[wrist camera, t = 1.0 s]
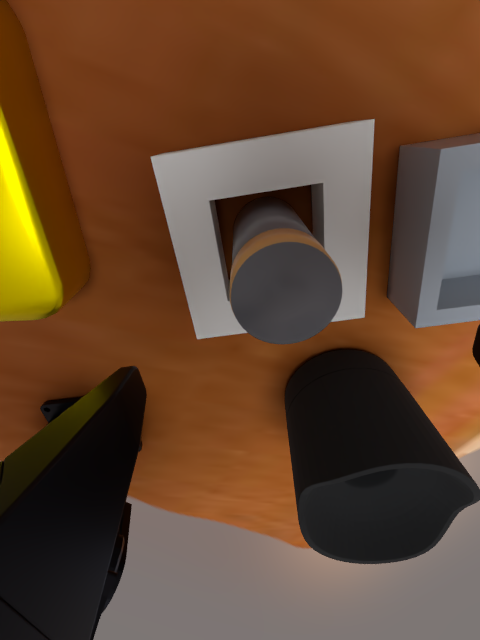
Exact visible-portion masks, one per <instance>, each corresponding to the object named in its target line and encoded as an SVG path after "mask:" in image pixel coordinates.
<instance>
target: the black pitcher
mask: <svg viewBox="0 0 480 640" xmlns="http://www.w3.org/2000/svg"><path fill="white" fill-rule="evenodd" d="M285 409H286V419H287V429H288V438H289V446H290V454H291V462H292V471H293V479H294V487H295V495H296V504H297V512H298V520H299V525H300V529H301V532H302V535H303V537H304V539H305V541H306V542H307V543H308V545H309V546H310V547H311V548H313V549H314V550H315V551H317V552H318V553H320V554H322V555H324V556H327V557H329V558H332V559H335V560H339V561H344V562H349V563H359V564H379V563H390V562H398V561H403V560H408V559H411V558H414V557H417V556H419V555H421V554H424V553H426V552H427V551H429V550H430V549H431V548H433V547H434V546H435V545H436V544H437V543H438V542H439V541H440V539H441V538H442V537H443V535H444V534H445V532H446V531H447V529H448V528H449V526H450V524H451V523H452V521H453V520H454V518H455V517H456V516H457V514H458V513H459V512H460V511H462V510H463V509H464V508H466V507H468V506H470V505H472V504H474V503H476V502H478V501H479V500H480V489H479V487H478V486H477V484H476V483H475V481H474V480H473V479H472V477H471V476H470V475H469V473H468V472H467V470H466V469H465V468H464V466H463V465H462V463H461V462H460V461H459V459H458V458H457V457H456V455H455V454H454V453H453V451H452V450H451V448H450V447H449V446H448V444H447V443H446V442H445V440H444V439H443V438H442V436H441V435H440V433H439V432H438V431H437V429H436V428H435V427H434V425H433V424H432V422H431V421H430V420H429V418H428V417H427V416H426V414H425V413H424V412H423V410H422V409H421V407H420V406H419V405H418V403H417V402H416V401H415V399H414V398H413V396H412V395H411V394H410V392H409V391H408V390H407V388H406V387H405V386H404V385H403V383H402V382H401V381H400V379H399V378H398V377H397V375H396V374H395V373H394V371H393V370H392V369H391V368H390V367H389V366H388V365H387V363H386V362H384V361H383V360H382V359H380V358H379V357H377V356H375V355H373V354H370V353H368V352H364V351H359V350H336V351H331V352H327V353H324V354H321V355H319V356H317V357H315V358H313V359H311V360H309V361H308V362H307V363H305V364H304V365H303V366H301V367H300V368H299V369H298V370H297V371H296V372H295V374H294V375H293V376H292V378H291V379H290V381H289V383H288V385H287V388H286V391H285Z"/></svg>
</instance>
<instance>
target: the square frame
mask: <svg viewBox="0 0 480 640" xmlns="http://www.w3.org/2000/svg"><path fill="white" fill-rule="evenodd" d="M374 121H375V119H370V120H360V121H351V122H345V123H339V124H333V125H327V126H322V127H316V128H310V129H304V130H298V131H292V132H286V133H280V134H274V135H268V136H262V137H256V138H251V139H245V140H239V141H233V142H227V143H221V144H215V145H209V146H203V147H197V148H191V149H185V150H180V151H174V152H168V153H162V154H159V155H155V156H152V157H151V161H152V165H153V169H154V173H155V177H156V180H157V184H158V188H159V192H160V196H161V200H162V204H163V208H164V212H165V216H166V220H167V223H168V227H169V231H170V235H171V239H172V243H173V247H174V251H175V255H176V259H177V263H178V266H179V270H180V274H181V278H182V282H183V286H184V290H185V294H186V298H187V302H188V306H189V309H190V313H191V317H192V321H193V325H194V329H195V333H196V337H197V339H203V338H211V337H218V336H226V335H234V334H241V333H248V332H247V331H246V330H244V329H243V328H242V326H241V325H240V324H239V323H238V321H237V319H236V317H235V316H234V313H233V311H232V308H231V304H230V280H229V279H228V273H227V268H226V262H225V257H224V251H223V245H222V240H221V234H220V228H219V223H218V217H217V212H216V206H215V200H216V199H223V198H229V197H235V196H242V195H248V194H254V193H261V192H267V191H273V190H280V189H286V188H292V187H299V186H305V185H311V194H312V222H313V236H314V238H315V239H316V240H317V241H318V242H319V243H320V244H321V245H322V246H323V248H324V249H325V250H326V252H327V253H328V254H329V256H330V257H331V258H332V260H333V261H334V262H335V264H336V266H337V268H338V270H339V272H340V275H341V280H342V299H341V303H340V306H339V309H338V311H337V313H336V315H335V316H334V318H333V319H332V321H331V322H334V321H342V320H350V319H357V318H365V299H366V279H367V259H368V240H369V220H370V200H371V180H372V161H373V141H374Z"/></svg>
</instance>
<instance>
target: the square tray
mask: <svg viewBox="0 0 480 640" xmlns="http://www.w3.org/2000/svg"><path fill="white" fill-rule="evenodd" d="M387 298H388V299H389V300H390V301H391V302H392V303H393V304H394V305H395V306H396V307H397V309H398V310H399V311H400V312H401V313H402V314H403V315H404V316H405V317H406V318H407V319H408V321H409V322H410V323H411V324H412V325H413V326H414V327H415V328H421V327H428V326H436V325H444V324H452V323H460V322H468V321H476V320H480V133H476V134H470V135H464V136H457V137H451V138H445V139H439V140H433V141H427V142H421V143H414V144H408V145H402V146H400V152H399V164H398V175H397V187H396V198H395V210H394V221H393V233H392V244H391V256H390V267H389V279H388V290H387Z"/></svg>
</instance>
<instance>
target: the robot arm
mask: <svg viewBox="0 0 480 640" xmlns="http://www.w3.org/2000/svg"><path fill="white" fill-rule="evenodd" d="M473 356H474V358H475V360H476V361H477V363H478V365H479V366H480V325H479V326H478V329H477V333H476V337H475V340H474V344H473ZM146 396H147V394H146V388H145V385H144V383H143V380H142V377H141V375H140V372H139V370H138V368H137V367H135V366H129V367H122V368H120V369H118V370H117V371H116V372H114V373H113V374H112V375H111V376H109V377H108V378H107V379H105V380H104V381H103V382H102V383H100V384H99V385H98V386H97V387H95V388H94V389H93V390H91V391H90V392H89V393H88V394H86V395H85V396H84V397H80V398H72V399H64V400H55V401H47V402H44V403H43V405H42V406H41V408H40V409H41V411H42V413H43V414H44V416H45V418H46V419H47V421H48V422H49V423H48V424H47V426H46V427H44V428H43V429H42V430H41V431H39V432H38V433H37V434H35V435H34V436H33V437H32V438H30V439H29V440H28V441H27V442H25V443H24V444H23V445H21V446H20V447H19V448H18V449H16V450H15V451H14V452H13V453H11V454H10V455H9V456H7V457H6V458H5V459H4V461H1V462H0V640H93V638H94V634H95V631H96V628H97V625H98V622H99V619H100V616H101V614H102V612H103V611H104V610H105V609H106V607H107V605H108V604H109V602H110V601H111V599H112V597H113V594H114V593H115V591H116V588H117V586H118V584H119V581H120V578H121V575H122V573H123V569H124V565H125V560H126V553H127V543H128V535H129V524H130V515H131V505H132V504H130V503H127V502H126V498H127V494H128V490H129V486H130V482H131V478H132V474H133V471H134V467H135V463H136V459H137V455H138V452H139V451H141V448H142V443H141V433H142V426H143V418H144V411H145V404H146Z"/></svg>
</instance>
